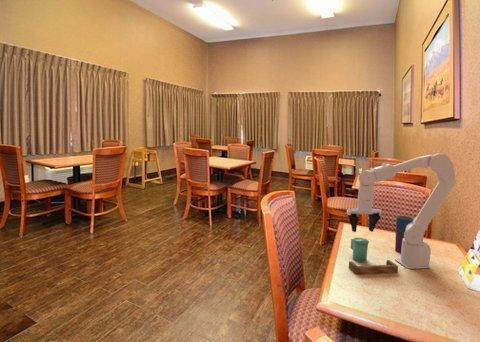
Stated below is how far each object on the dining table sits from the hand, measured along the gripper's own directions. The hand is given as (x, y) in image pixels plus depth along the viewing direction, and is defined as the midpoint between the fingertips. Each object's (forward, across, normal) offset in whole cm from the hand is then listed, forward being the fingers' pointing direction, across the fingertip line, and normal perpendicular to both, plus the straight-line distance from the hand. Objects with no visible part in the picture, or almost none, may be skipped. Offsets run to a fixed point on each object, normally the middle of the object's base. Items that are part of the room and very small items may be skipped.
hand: (362, 231), depth 123 cm
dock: (+9, +4, +16) cm, 19 cm away
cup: (+10, -19, 0) cm, 21 cm away
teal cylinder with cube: (+9, +4, +5) cm, 11 cm away
